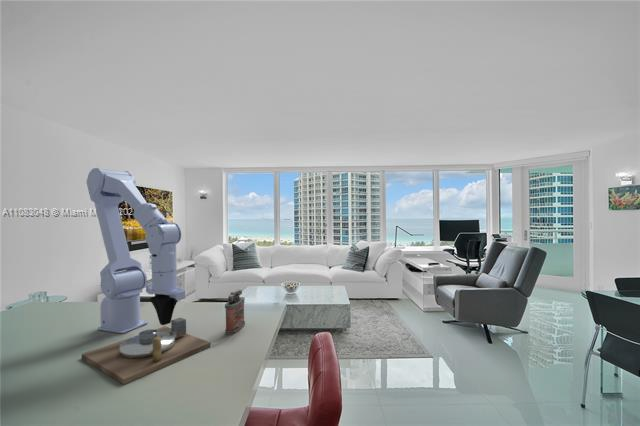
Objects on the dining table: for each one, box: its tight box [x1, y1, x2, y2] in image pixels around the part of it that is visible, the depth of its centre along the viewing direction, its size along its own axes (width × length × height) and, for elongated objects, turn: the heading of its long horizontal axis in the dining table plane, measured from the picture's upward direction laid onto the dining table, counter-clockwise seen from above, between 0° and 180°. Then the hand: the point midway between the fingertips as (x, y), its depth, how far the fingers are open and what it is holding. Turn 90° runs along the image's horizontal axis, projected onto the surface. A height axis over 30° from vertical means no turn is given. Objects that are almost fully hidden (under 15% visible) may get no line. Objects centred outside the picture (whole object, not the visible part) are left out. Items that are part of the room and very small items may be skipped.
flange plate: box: [120, 317, 187, 358], centre depth 73 cm, size 11×14×4 cm
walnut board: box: [81, 325, 211, 385], centre depth 72 cm, size 19×19×6 cm
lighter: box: [224, 289, 246, 336], centre depth 85 cm, size 8×3×10 cm, turn 168°
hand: (165, 323), depth 80 cm, fingers closed
